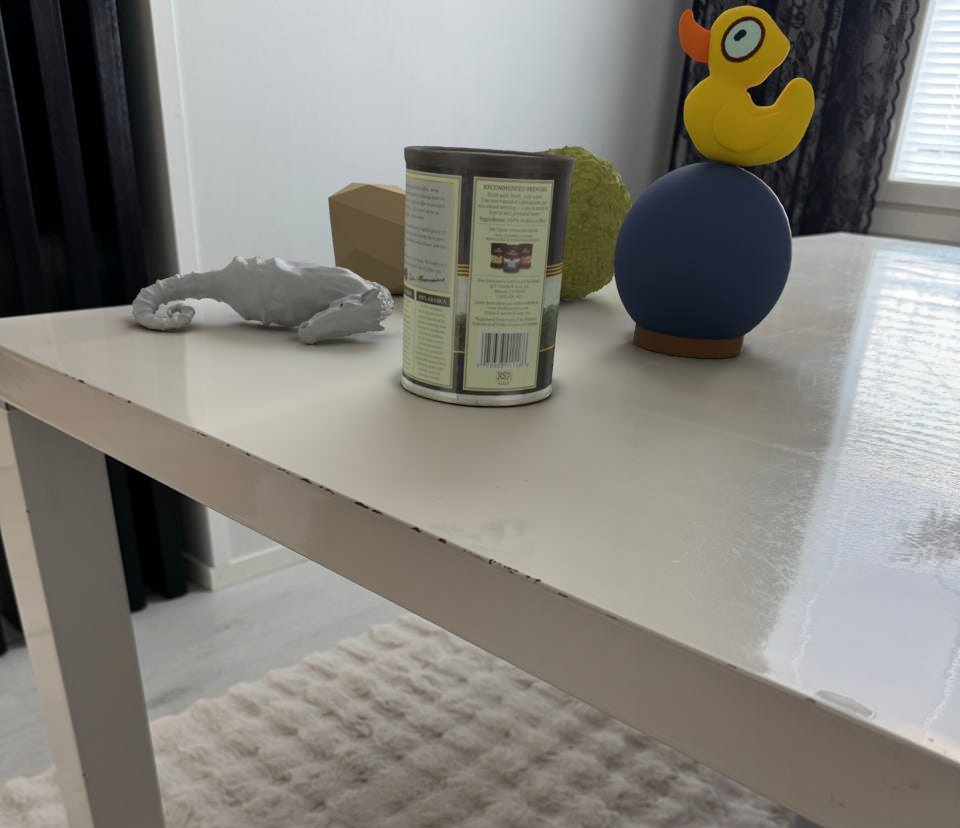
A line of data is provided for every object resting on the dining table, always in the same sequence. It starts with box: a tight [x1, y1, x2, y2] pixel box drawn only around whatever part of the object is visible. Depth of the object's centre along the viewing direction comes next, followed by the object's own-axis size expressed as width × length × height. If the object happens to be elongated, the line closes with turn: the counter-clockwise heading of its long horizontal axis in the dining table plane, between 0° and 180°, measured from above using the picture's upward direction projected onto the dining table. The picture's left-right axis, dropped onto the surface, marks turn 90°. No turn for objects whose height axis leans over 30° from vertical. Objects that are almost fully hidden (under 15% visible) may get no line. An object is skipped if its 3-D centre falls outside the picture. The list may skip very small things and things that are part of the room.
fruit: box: [535, 144, 634, 301], centre depth 95 cm, size 16×14×15 cm
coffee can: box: [400, 145, 575, 407], centre depth 61 cm, size 10×10×14 cm
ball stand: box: [614, 161, 793, 359], centre depth 77 cm, size 14×14×14 cm
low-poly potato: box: [327, 182, 406, 295], centre depth 92 cm, size 15×11×12 cm
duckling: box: [678, 5, 816, 167], centre depth 71 cm, size 11×5×10 cm, turn 80°
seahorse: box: [131, 255, 395, 345], centre depth 74 cm, size 5×12×20 cm
